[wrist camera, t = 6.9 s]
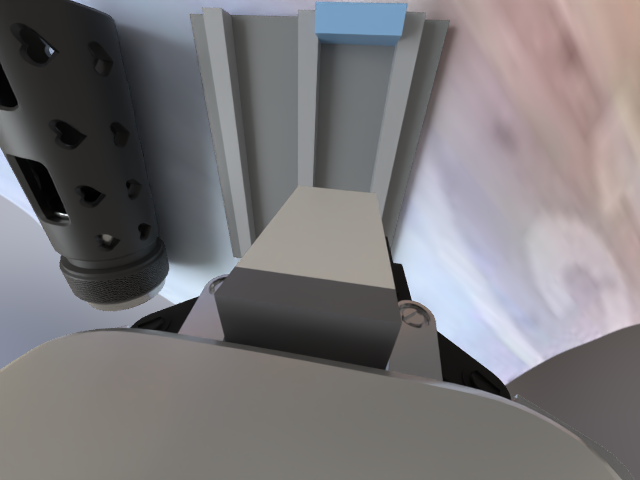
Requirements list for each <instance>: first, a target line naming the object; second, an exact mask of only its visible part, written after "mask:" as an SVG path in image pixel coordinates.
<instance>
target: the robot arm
mask: <svg viewBox="0 0 640 480" xmlns="http://www.w3.org/2000/svg"><path fill="white" fill-rule="evenodd" d="M385 240H386V245H387V250H388V255H389V260H390V265H391V270H392V275H393V280H394V285H395V290H396V295H397V300H398V305H399V310H400V315H401V320H402V325H401V328H400V331H399V334H398V336H397V339H396V342H395V345H394V348H393V350H392V353H391V356H390V359H389V361H388V364H387V367H386V370H382V369H377V368H371V367H366V366H361V365H355V364H350V363H344V362H339V361H333V360H328V359H322V358H316V357H311V356H305V355H300V354H294V353H288V352H283V351H277V350H271V349H266V348H260V347H254V346H249V345H243V344H237V343H231V342H226V340H225V337H224V333H223V329H222V325H221V321H220V317H219V313H218V309H217V305H216V301H215V298H214V293H215V292H216V291H217V289H218V288H219V287H220V285H221V284H222V283H223V282H224V280H225V279H226V278H227V276H228V275H229V274H227V275H221V276H218V277H216V278H213V279H212V280H211V281H209V282H208V283H207V284H206V286H205V287H204V289H203V291H202V293H201V294H200V296H198V297H196V298H193V299H190V300H187V301H185V302H182V303H179V304H177V305H174V306H171V307H169V308H166V309H163V310H160V311H157V312H155V313H152V314H150V315H147V316H145V317H143V318H141V319H140V320H138V321H137V322H136V323H135V324H134V325H133V326H132V327H131V328H129V326H128V325H125V326H121V327H117V328H108V329H107V328H106V329H95V330H89V331H83V332H77V333H73V334H69V335H65V336H62V337H58V338H55V339H53V340H51V341H48V342H46V343H43V344H42V345H40V346H38V347H36V348H34V349H32V350H31V351H29V352H27V353H26V354H24V355H23V356H21V357H19V358H18V359H16V360H14V361H13V362H11V363H10V364H8V365H7V366H5V367H4V368H2V369H1V370H0V480H635V479H634V478H633V476H632V475H631V474H630V472H629V471H628V470H627V468H626V467H625V466H624V465H623V464H622V463H621V462H620V461H619V460H618V459H617V458H616V457H615V456H614V455H613V454H612V453H610V452H609V451H607V450H606V449H605V448H603V447H602V446H601V445H599V444H598V443H596V442H594V441H593V440H591V439H589V438H588V437H586V436H584V435H583V434H581V433H580V432H578V431H576V430H575V429H573V428H572V427H570V426H568V425H567V424H565V423H563V422H562V421H560V420H558V419H557V418H555V417H554V416H552V415H550V414H549V413H547V412H546V411H544V410H542V409H541V408H539V407H537V406H536V405H534V404H533V403H531V402H529V401H528V400H526V399H524V398H523V397H521V396H519V395H518V394H517V395H516V396H515V397H514V396H512V395H511V394H509V392H508V390H507V388H506V386H505V385H504V384H503V383H502V382H501V380H500V379H499V378H498V377H497V376H495V375H494V374H493V373H492V372H491V371H489V370H488V369H487V368H485V367H484V366H483V365H481V364H480V363H479V362H477V361H476V360H475V359H474V358H472V357H471V356H470V355H468V354H467V353H466V352H464V351H463V350H462V349H460V348H459V347H458V346H456V345H455V344H454V343H452V342H451V341H450V340H448V339H447V338H446V337H444V336H443V335H442V334H440V333H439V332H438V331H437V329H436V321H435V318H434V315H433V314H432V313H431V311H430V310H429V309H428V308H427V307H425V306H424V305H422V304H420V303H418V302H415V301H412V299H411V296H410V292H409V288H408V285H407V281H406V277H405V274H404V270H403V266H402V264H397V263H393V260H392V256H391V251H390V246H389V242H388V237H387V236H385Z"/></svg>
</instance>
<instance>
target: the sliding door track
mask: <svg viewBox="0 0 640 480" xmlns="http://www.w3.org/2000/svg"><path fill="white" fill-rule="evenodd" d="M406 8H407V4H404V3H349V2H316V9H315V10H298V17H288V16H248V15H230V14H229V13H227V12H226V11H225V10H223V9H222V8H202V11H203V14H190V18H191V24H192V29H193V35H194V40H195V46H196V51H197V57H198V63H199V68H200V74H201V79H202V85H203V90H204V96H205V101H206V107H207V112H208V118H209V124H210V129H211V135H212V140H213V146H214V151H215V157H216V162H217V168H218V173H219V179H220V185H221V190H222V196H223V201H224V207H225V212H226V218H227V223H228V229H229V234H230V240H231V246H232V251H233V257H237V258H242V257H243V256H244V255H245V253H246V252H247V251H248V250H249V248H250V247H251V246H252V244H253V243H254V242H255V241H256V239H257V238H258V237H259V236H260V234H261V233H262V232H263V230H264V229H265V228H266V227H267V225H268V224H269V223H270V221H271V220H272V219H273V218H274V216H275V215H276V214H277V212H278V211H279V210H280V209H281V207H282V206H283V205H284V204H285V202H286V201H287V200H288V198H289V197H290V196H291V195H292V193H293V192H294V191H295V189H296V188H297V187H298V186H307V187H317V188H327V189H337V190H347V191H357V192H367V193H376V194H377V199H378V204H379V209H380V215H381V220H382V225H383V230H384V235H385V236H387V237H388V242H389V246H390V249H391V245H392V241H393V237H394V233H395V230H396V226H397V222H398V218H399V214H400V210H401V206H402V203H403V199H404V195H405V191H406V187H407V183H408V179H409V176H410V172H411V168H412V164H413V160H414V156H415V153H416V149H417V145H418V141H419V137H420V133H421V129H422V126H423V122H424V118H425V114H426V110H427V106H428V102H429V99H430V95H431V91H432V87H433V83H434V79H435V76H436V72H437V68H438V64H439V60H440V56H441V52H442V49H443V45H444V41H445V37H446V33H447V29H448V25H449V22H450V21H449V20H425V16H426V13H423V12H406Z"/></svg>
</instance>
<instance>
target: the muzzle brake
mask: <svg viewBox="0 0 640 480" xmlns="http://www.w3.org/2000/svg"><path fill="white" fill-rule="evenodd" d="M50 47H51V48H52V49H53V50H54V53H53V54H52V55H51V54H50V52H49V48H50ZM0 148H1V150H2V151H3V153H4V155H5V157H6V159H7V161H8V163H9V165H10V166H11V168H12V170H13V172H14V174H15V176H16V178H17V180H18V182H19V183H20V185H21V187H22V189H23V191H24V193H25V195H26V197H27V199H28V200H29V202H30V204H31V206H32V208H33V210H34V212H35V214H36V215H37V217H38V219H39V221H40V223H41V225H42V227H43V229H44V231H45V232H46V234H47V236H48V238H49V240H50V242H51V244H52V246H53V247H54V249H55V250H56V251H57V252H58V253H59V254H61V260H60V269H61V271H62V273H63V275H64V276H65V278H66V280H67V282H68V284H69V286H70V288H71V289H72V291H73V293H74V294H75V295H76V296H77V297H79V298H80V299H82V300H85V301H87V302H88V303H89V304H90V305H91V306H92V307H93V308H96V309H99V310H103V311H118V310H124V309H129V308H132V307H135V306H138V305H140V304H143V303H145V302H147V301H148V300H150V299H152V298H153V297H154V296H156V295H157V294H158V293H159V292H160V291H161V289H162V288H163V286H164V284H165V278H166V276H167V274H168V271H169V263H168V258H167V253H166V248H165V245H164V243H163V241H162V240H161V239H160V238H159V237H158V234H159V228H158V223H157V220H156V216H155V210H154V204H153V200H152V195H151V190H150V186H149V183H148V178H147V174H146V167H145V162H144V157H143V153H142V148H141V143H140V139H139V136H138V131H137V127H136V122H135V115H134V110H133V106H132V101H131V96H130V92H129V87H128V82H127V78H126V75H125V71H124V66H123V61H122V57H121V52H120V45H119V40H118V35H117V31H116V26H115V21H114V19H113V18H112V17H111V16H110V15H108V14H106V13H103V12H101V11H99V10H96V9H93V8H91V7H88V6H85V5H82V4H80V3H77V2H74V1H71V0H0Z"/></svg>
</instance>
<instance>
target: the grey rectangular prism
mask: <svg viewBox="0 0 640 480" xmlns="http://www.w3.org/2000/svg"><path fill="white" fill-rule="evenodd" d="M214 298H215V301H216V305H217V309H218V313H219V317H220V321H221V325H222V329H223V333H224V337H225V340H226V342H231V343H237V344H243V345H249V346H254V347H260V348H266V349H271V350H277V351H283V352H288V353H294V354H300V355H305V356H311V357H316V358H322V359H328V360H333V361H339V362H344V363H350V364H355V365H361V366H366V367H371V368H377V369H382V370H386V367H387V364H388V361H389V359H390V356H391V353H392V350H393V348H394V345H395V342H396V339H397V336H398V334H399V331H400V328H401V325H402V320H401V315H400V310H399V305H398V300H397V295H396V290H395V285H394V280H393V275H392V270H391V265H390V260H389V255H388V250H387V245H386V240H385V235H384V230H383V225H382V220H381V215H380V209H379V204H378V199H377V194H376V193H367V192H357V191H347V190H337V189H327V188H317V187H307V186H298V187H297V188H296V189H295V191H294V192H293V193H292V195H291V196H290V197H289V198H288V200H287V201H286V202H285V204H284V205H283V206H282V207H281V209H280V210H279V211H278V212H277V214H276V215H275V216H274V218H273V219H272V220H271V221H270V223H269V224H268V225H267V227H266V228H265V229H264V230H263V232H262V233H261V234H260V236H259V237H258V238H257V239H256V241H255V242H254V243H253V244H252V246H251V247H250V248H249V250H248V251H247V252H246V253H245V255H244V256H243V257H242V259H241V260H240V261H239V262H238V264H237V265H236V266H235V268H234V269H233V270H232V271H231V273H230V274H229V275H228V276H227V278H226V279H225V280H224V282H223V283H222V284H221V285H220V287H219V288H218V289H217V291H216V292H215V293H214Z"/></svg>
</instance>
